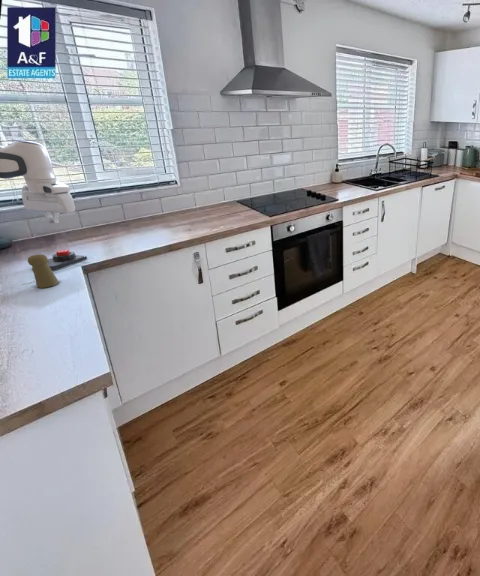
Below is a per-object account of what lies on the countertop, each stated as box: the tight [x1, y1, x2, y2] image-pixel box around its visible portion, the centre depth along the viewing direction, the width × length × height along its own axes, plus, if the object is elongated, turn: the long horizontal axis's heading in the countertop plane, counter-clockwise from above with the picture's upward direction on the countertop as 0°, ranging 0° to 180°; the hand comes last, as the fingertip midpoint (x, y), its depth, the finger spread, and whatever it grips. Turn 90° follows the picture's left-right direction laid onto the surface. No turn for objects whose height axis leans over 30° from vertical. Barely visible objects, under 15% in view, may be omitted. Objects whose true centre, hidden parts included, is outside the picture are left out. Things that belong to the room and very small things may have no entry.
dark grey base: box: [47, 251, 88, 272], centre depth 148 cm, size 14×10×5 cm
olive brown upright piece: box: [27, 253, 60, 289], centre depth 130 cm, size 6×6×11 cm
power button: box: [55, 249, 71, 256], centre depth 149 cm, size 4×4×2 cm
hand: (54, 222), depth 144 cm, fingers closed
